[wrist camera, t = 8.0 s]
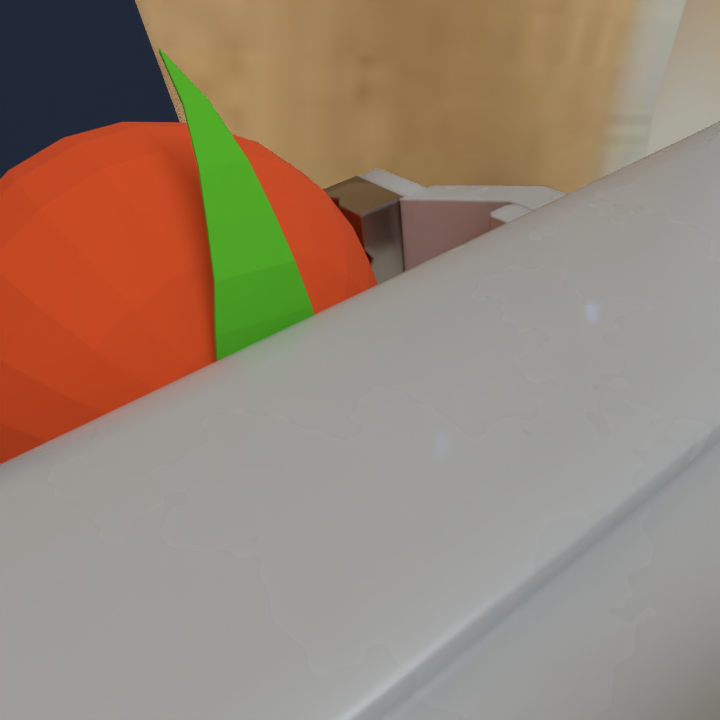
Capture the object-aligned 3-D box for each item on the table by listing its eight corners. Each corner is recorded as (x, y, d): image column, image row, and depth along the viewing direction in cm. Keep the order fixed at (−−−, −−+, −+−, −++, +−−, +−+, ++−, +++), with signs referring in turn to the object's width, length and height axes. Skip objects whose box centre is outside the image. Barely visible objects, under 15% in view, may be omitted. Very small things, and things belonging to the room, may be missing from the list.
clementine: (-206, 27, 9) (-227, 138, 4) (247, 7, 12) (529, 56, 7) (-24, 462, 13) (71, 766, 8) (273, 358, 17) (461, 532, 12)
